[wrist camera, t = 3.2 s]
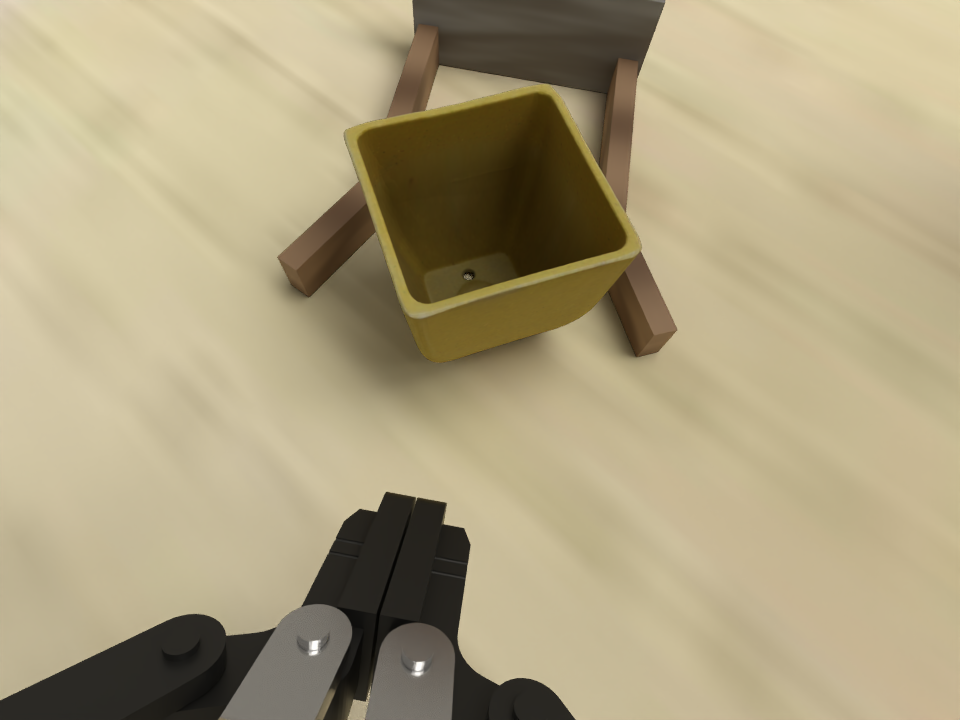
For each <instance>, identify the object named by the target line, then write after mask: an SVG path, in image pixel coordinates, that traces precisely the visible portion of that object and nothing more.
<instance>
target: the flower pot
mask: <svg viewBox="0 0 960 720" xmlns="http://www.w3.org/2000/svg"><path fill="white" fill-rule="evenodd" d="M344 140H345V143H346V146H347V149H348V151H349V154H350V157H351V159H352V162H353V165H354V168H355V171H356V174H357V177H358V180H359V183H360V186H361V188H362V191H363V194H364V197H365V200H366V203H367V206H368V209H369V212H370V215H371V218H372V221H373V224H374V227H375V230H376V233H377V236H378V239H379V242H380V245H381V248H382V251H383V254H384V257H385V260H386V263H387V266H388V269H389V272H390V275H391V278H392V281H393V284H394V287H395V291H396V294H397V297H398V300H399V303H400V306H401V308H402V311H403V313H404V316H405V318H406V320H407V323H408V325H409V327H410V330H411V332H412V335H413V337H414V339H415V342H416V344H417V346H418V348H419V350H420V352H421V353H422V354H423V355H424V356H425V357H426V358H427V359H428V360H430V361H433V362H438V363H442V362H447V361H452V360H455V359H458V358H461V357H464V356H467V355H470V354H474V353H477V352H480V351H483V350H486V349H489V348H493V347H496V346H499V345H502V344H506V343H509V342H512V341H515V340H519V339H522V338H525V337H528V336H532V335H535V334H539V333H542V332H546V331H549V330H553V329H556V328H559V327H561V326H564V325H566V324H568V323H571V322H573V321H575V320H576V319H578V318H580V317H581V316H583V315H584V314H586V313H587V312H588V311H590V310H591V309H592V308H593V307H594V306H595V305H596V304H597V303H598V302H599V300H600V299H601V298H602V297H603V296H604V295H605V293H606V292H607V291H608V290H609V289H610V288H611V286H612V285H613V284H614V283H615V282H616V280H617V279H618V278H619V277H620V276H621V274H622V273H623V272H624V271H625V269H626V268H627V267H628V266H629V265H630V264H631V262H632V261H633V260H634V259H635V257H636V256H637V255H638V254H639V253H640V251H641V249H642V245H641V242H640V239H639V237H638V234H637V233H636V231H635V229H634V227H633V225H632V223H631V221H630V220H629V218H628V216H627V214H626V213H625V211H624V209H623V208H622V206H621V204H620V203H619V201H618V199H617V198H616V196H615V194H614V192H613V190H612V188H611V187H610V185H609V183H608V181H607V180H606V178H605V176H604V175H603V173H602V171H601V169H600V168H599V166H598V164H597V162H596V161H595V159H594V157H593V155H592V153H591V151H590V149H589V148H588V146H587V144H586V142H585V140H584V139H583V137H582V135H581V133H580V131H579V129H578V127H577V125H576V123H575V122H574V120H573V118H572V116H571V114H570V112H569V110H568V109H567V107H566V105H565V103H564V101H563V100H562V98H561V97H560V95H559V94H558V93H557V92H556V91H555V90H554V89H553V87H552V86H550V85H549V84H537V85H532V86H527V87H523V88H519V89H514V90H510V91H507V92H503V93H500V94H495V95H492V96H487V97H482V98H479V99H475V100H471V101H467V102H464V103H460V104H455V105H450V106H446V107H441V108H437V109H432V110H426V111H421V112H415V113H410V114H405V115H400V116H395V117H390V118H386V119H380V120H375V121H370V122H367V123H363V124H360V125H357V126H354V127H352V128H349V129H347V130H345V132H344ZM466 272H471V273H473V275H474V278H473V279H472V280H466V279H465V278H464V277H463V276H464V274H465V273H466Z"/></svg>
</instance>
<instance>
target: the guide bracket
mask: <svg viewBox="0 0 960 720" xmlns="http://www.w3.org/2000/svg"><path fill="white" fill-rule="evenodd" d="M664 4H665V0H413V17H414V33H415V36H414V39H413V42H412V45H411V48H410V51H409V54H408V57H407V60H406V63H405V66H404V69H403V72H402V75H401V77H400V80H399V83H398V86H397V89H396V92H395V95H394V98H393V101H392V104H391V107H390V110H389V113H388V116H387V118H390V117H395V116H400V115H405V114H410V113H415V112H421V111H425V109H426V106H427V102H428V99H429V96H430V92H431V89H432V86H433V82H434V79H435V76H436V72H437V69H438V66H439V64H440V65H446V66H451V67H457V68H463V69H469V70H475V71H480V72H486V73H492V74H498V75H504V76H509V77H515V78H521V79H527V80H532V81H538V82H544V83H550V84H556V85H561V86H567V87H573V88H579V89H585V90H590V91H596V92H602V93H607V99H606V108H605V117H604V126H603V135H602V144H601V152H600V161H599V168H600V169H601V171H602V173H603V175H604V176H605V178H606V180H607V181H608V183H609V185H610V187H611V188H612V190H613V192H614V194H615V196H616V198H617V199H618V201H619V203H620V204H621V206H622V208H623V209H624V211H625V213H626V205H627V193H628V181H629V169H630V156H631V144H632V132H633V120H634V108H635V95H636V83H637V78H638V75H639V72H640V70H641V67H642V64H643V61H644V59H645V56H646V53H647V51H648V48H649V45H650V42H651V40H652V37H653V34H654V32H655V29H656V26H657V23H658V21H659V18H660V15H661V13H662V10H663V7H664ZM375 231H376V230H375V227H374V224H373V221H372V218H371V215H370V212H369V209H368V206H367V203H366V200H365V197H364V194H363V191H362V188H361V186H360V183H359V182H358V183H357V184H356V185H355V186H354V187H353V188H351V189H350V190H349V191H348V192H347V193H346V194H345V195H344V196H343V197H342V198H341V199H340V200H338V201H337V202H336V203H335V204H334V205H333V206H332V207H331V208H330V209H329V210H328V211H327V212H326V213H324V214H323V215H322V216H321V217H320V218H319V219H318V220H317V221H316V222H315V223H314V224H313V225H311V226H310V227H309V228H308V229H307V230H306V231H305V232H304V233H303V234H302V235H301V236H300V237H299V238H297V239H296V240H295V241H294V242H293V243H292V244H291V245H290V246H289V247H288V248H287V249H286V250H284V251H283V252H282V253H281V254H280V255H279V256H278V257H277V258H278V260H279V261H280V263H281V265H282V267H283V269H284V271H285V273H286V275H287V277H288V279H289V281H290V283H291V285H292V286H294V287H295V288H297V289H298V290H299V291H301V292H302V293H304V294H305V295H306V296H308V297H310V296H311V295H312V294H313V293H314V292H315V291H316V290H317V289H318V288H319V287H320V286H321V285H322V284H323V283H324V282H325V281H326V280H327V279H328V278H329V277H330V276H331V275H332V274H333V273H334V272H335V271H336V270H337V269H338V268H339V267H340V266H341V265H342V264H343V263H344V262H345V261H346V260H347V259H348V258H349V257H350V256H351V255H352V254H353V253H354V252H355V251H356V250H357V249H358V248H359V247H360V246H361V245H362V244H363V243H364V242H365V241H366V240H367V239H368V238H369V237H370V236H371V235H372V234H373V233H374V232H375ZM608 292H609V294H610V296H611V299H612V301H613V303H614V306H615V308H616V310H617V313H618V315H619V317H620V320H621V322H622V324H623V327H624V329H625V331H626V334H627V336H628V338H629V341H630V343H631V345H632V348H633V350H634V352H635V355H636V357H639V356H643V355H647V354H651V353H655V352H658V351H659V350H660V349H661V348H662V347H663V346H664V345H665V343H666V342H667V341H668V340H669V339H670V338H671V337H672V335H673V334H674V333H675V332H676V331H677V328H676V326H675V323H674V321H673V319H672V317H671V315H670V313H669V311H668V308H667V306H666V304H665V302H664V300H663V298H662V296H661V294H660V291H659V289H658V287H657V285H656V283H655V281H654V279H653V276H652V274H651V272H650V270H649V268H648V266H647V264H646V262H645V259H644V257H643V255H642V253H641V251H640V253H639V254H638V255H637V256H636V257H635V259H634V260H633V261H632V262H631V264H630V265H629V266H628V267H627V268H626V269H625V271H624V272H623V273H622V274H621V276H620V277H619V278H618V279H617V280H616V282H615V283H614V284H613V285H612V286H611V288H610V289H609V290H608Z"/></svg>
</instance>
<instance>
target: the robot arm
mask: <svg viewBox="0 0 960 720" xmlns="http://www.w3.org/2000/svg"><path fill="white" fill-rule="evenodd" d="M415 502H416V504H415ZM446 506H447V503H445V502H439V501H434V500H428V499H423V498H417V501H416V497H412V496H406V495H401V494H396V493H390V492H386V493H385V495H384V497H383V499H382V502H381V504H380V507H379V509H378V511H377V512H374V511H368V510H363V509H359V510H358V511H357V512H355V513H354V514H353V515H352V516H350V517H349V518H348V519H346V520H345V521H344V523H343V525H342V527H341V529H340V531H339V533H338V535H337V537H336V540H335V541H334V543H333V545H332V547H331V549H330V551H329V554H328V555H327V557H326V559H325V561H324V563H323V565H322V567H321V569H320V571H319V573H318V575H317V577H316V579H315V581H314V583H313V585H312V587H311V589H310V591H309V593H308V595H307V597H306V599H305V601H304V603H303V605H302V606H301V608H298V609H296V610H294V611H292V612H291V613H289V614H288V615H287V616H285V617H284V618H283V619H282V620H281V622H280V623H279V624H278V626H277V627H276V628H273V629H271V630H267V631H264V632H258V633H251V634H241V635H231V636H226V633H225V630H224V628H223V626H222V625H221V623H220V622H219V621H217V620H216V619H214V618H212V617H210V616H206V615H200V614H189V615H183V616H179V617H175V618H173V619H170V620H168V621H165V622H163V623H161V624H159V625H157V626H155V627H153V628H151V629H149V630H147V631H145V632H142V633H140V634H138V635H136V636H134V637H132V638H130V639H128V640H126V641H124V642H122V643H119V644H117V645H115V646H113V647H111V648H109V649H107V650H105V651H103V652H101V653H99V654H96V655H94V656H92V657H90V658H88V659H86V660H84V661H82V662H80V663H78V664H76V665H74V666H71V667H69V668H67V669H65V670H63V671H61V672H59V673H57V674H55V675H53V676H51V677H48V678H46V679H44V680H42V681H40V682H38V683H36V684H34V685H32V686H30V687H28V688H25V689H23V690H21V691H19V692H17V693H15V694H13V695H11V696H9V697H7V698H5V699H2V700H0V720H347V718H348V715H349V712H350V709H351V705H352V702H353V699H355V700H360V701H365V702H366V699H367V696H368V693H369V689H370V686H371V692H370V699H369V703H368V708H367V713H366V718H365V720H575V718H574V717H573V716H572V714H571V713H570V712H569V710H568V709H567V708H566V707H565V705H564V704H563V703H562V701H561V700H560V699H559V697H558V696H557V695H556V694H555V693H554V692H553V691H552V690H551V689H550V688H548V687H547V686H545V685H544V684H542V683H540V682H538V681H535V680H531V679H526V678H516V679H511V680H509V681H506V682H504V683H503V684H501V685H500V686H499V685H497V684H496V683H494V682H492V681H490V680H488V679H486V678H485V677H483V676H481V675H480V674H478V673H477V672H475V671H474V670H473V669H472V668H471V667H470V666H469V665H468V664H467V663H466V661H465V660H464V658H463V657H462V654H461V652H460V650H459V646H458V640H457V636H458V627H459V620H460V614H461V607H462V600H463V593H464V586H465V579H466V572H467V565H468V559H469V552H470V542H469V540H468V537H467V535H466V532H465V530H464V528H460V527H454V526H449V525H444V518H445V512H446ZM371 683H372V684H371Z"/></svg>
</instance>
